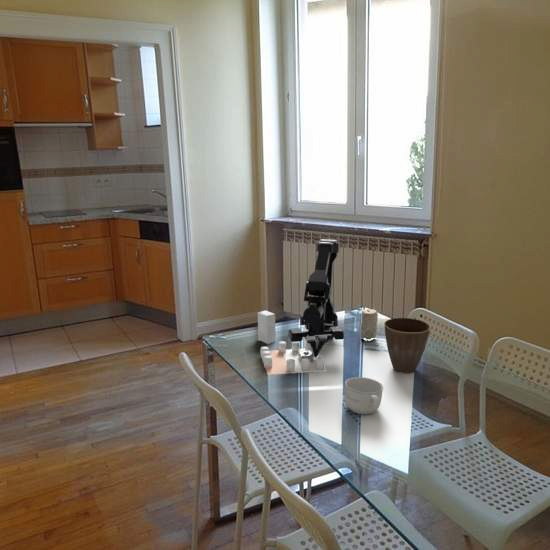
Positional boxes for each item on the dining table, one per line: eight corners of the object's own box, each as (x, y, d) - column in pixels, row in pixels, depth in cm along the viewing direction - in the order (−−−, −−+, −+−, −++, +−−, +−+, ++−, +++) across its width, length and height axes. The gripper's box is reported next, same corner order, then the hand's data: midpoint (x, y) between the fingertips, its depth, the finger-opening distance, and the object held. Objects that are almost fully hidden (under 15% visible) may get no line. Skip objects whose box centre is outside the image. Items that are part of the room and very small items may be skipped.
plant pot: (394, 380, 167) (397, 334, 163) (373, 362, 181) (376, 319, 177) (435, 375, 171) (439, 330, 167) (411, 358, 185) (415, 316, 181)
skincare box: (276, 343, 197) (276, 313, 194) (267, 346, 194) (267, 316, 191) (266, 339, 201) (266, 309, 198) (257, 341, 199) (257, 311, 196)
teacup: (340, 400, 153) (341, 376, 152) (375, 399, 154) (377, 375, 152) (350, 425, 140) (352, 398, 138) (389, 424, 141) (391, 397, 139)
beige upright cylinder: (357, 341, 200) (359, 312, 197) (362, 335, 207) (363, 306, 204) (373, 344, 197) (375, 314, 194) (377, 337, 204) (379, 308, 201)
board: (313, 350, 191) (313, 339, 189) (327, 373, 171) (327, 361, 170) (258, 353, 187) (258, 341, 186) (266, 377, 168) (266, 364, 167)
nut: (310, 356, 182) (310, 350, 182) (313, 361, 178) (313, 355, 178) (298, 357, 182) (298, 350, 181) (301, 362, 177) (301, 355, 177)
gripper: (336, 306, 186) (334, 346, 189) (285, 308, 183) (285, 349, 186) (345, 316, 175) (343, 359, 179) (291, 318, 172) (290, 362, 176)
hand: (315, 356), depth 180 cm, fingers closed
